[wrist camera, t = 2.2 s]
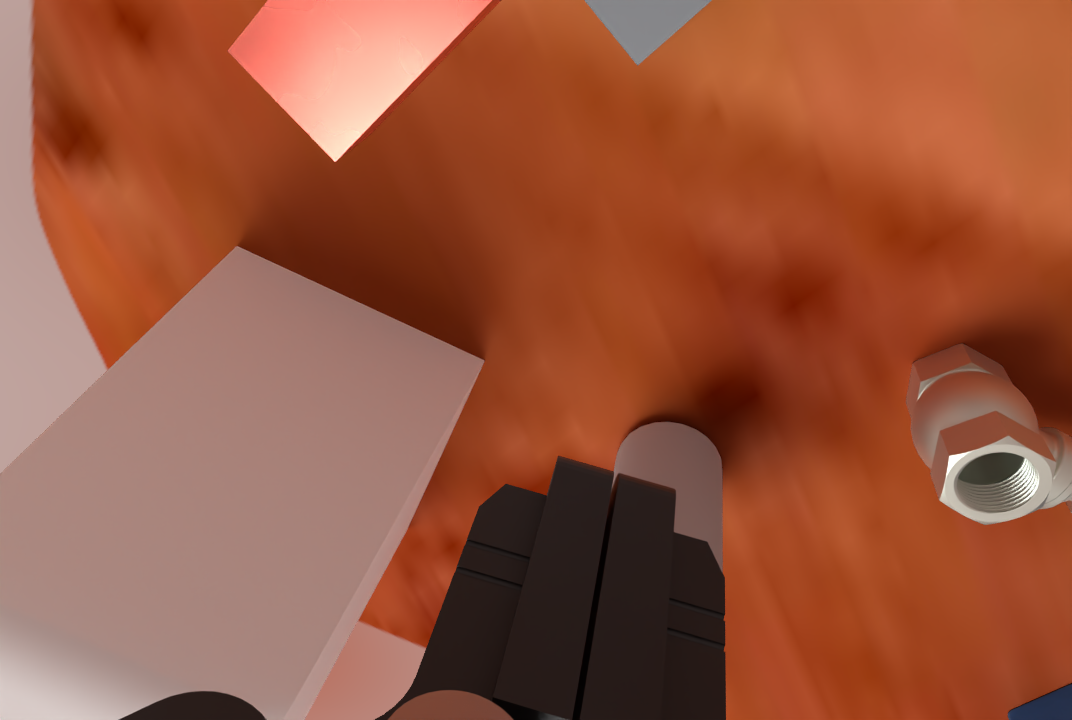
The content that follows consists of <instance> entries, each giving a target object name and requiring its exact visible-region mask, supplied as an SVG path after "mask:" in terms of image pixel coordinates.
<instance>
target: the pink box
mask: <svg viewBox="0 0 1072 720" xmlns="http://www.w3.org/2000/svg"><path fill="white" fill-rule="evenodd" d="M500 1H501V0H268V1H267V2H266V3H265V5H264V6H263V7H262V8H261V10H260V11H259V12H258V13H257V15H256V16H255V17H254V18H253V20H252V21H251V22H250V23H249V25H248V26H247V27H246V28H245V30H244V31H243V32H242V33H241V35H240V36H239V37H238V39H237V40H236V41H235V42H234V44H233V45H232V46H231V47H230V49H229V50H228V52H229V53H230V54H231V55H232V56H233V57H234V58H235V59H236V60H237V61H238V62H239V63H240V64H241V65H242V66H243V67H244V68H245V70H246V71H247V72H248V73H249V74H250V75H251V76H252V77H253V78H254V79H255V80H256V81H257V82H258V83H259V84H260V85H261V86H262V87H263V88H264V89H265V90H266V91H267V92H268V93H269V94H270V95H271V96H272V97H273V98H274V99H275V100H276V101H277V102H278V104H279V105H280V106H281V107H282V108H283V109H284V110H285V111H286V112H287V113H288V114H289V115H290V116H291V117H292V118H293V119H294V120H295V121H296V122H297V123H298V124H299V125H300V126H301V127H302V128H303V129H304V130H305V131H306V132H307V133H308V134H309V135H310V137H311V138H312V139H313V140H314V141H315V142H316V143H317V144H318V145H319V146H320V147H321V148H322V149H323V150H324V151H325V152H326V153H327V154H328V155H329V156H330V157H331V158H332V159H333V160H334V161H335V162H336V161H337V160H338V159H340V158H341V157H342V156H344V155H345V154H346V153H348V152H349V151H350V150H351V149H353V148H354V147H355V146H357V145H358V144H359V143H360V142H362V141H363V140H364V139H366V138H367V137H368V136H369V135H370V134H371V133H372V132H373V131H374V130H375V129H376V128H377V127H378V126H379V125H380V124H381V123H382V122H383V121H384V120H385V119H386V118H387V117H388V116H389V115H390V114H391V113H392V112H393V111H394V110H395V109H396V108H397V107H398V106H399V105H400V104H401V103H402V102H403V101H404V100H405V99H406V97H407V96H408V95H409V94H410V93H411V92H412V91H413V90H414V89H415V88H416V87H417V86H418V85H419V84H420V83H421V82H422V81H423V80H424V79H425V78H426V77H427V76H428V75H429V74H430V73H431V72H432V71H433V70H434V69H435V68H436V67H437V66H438V65H439V64H440V63H441V62H442V61H443V60H444V59H445V58H446V56H447V55H448V54H449V53H450V52H451V51H452V50H453V49H454V48H455V47H456V46H457V45H458V44H459V43H460V42H461V41H462V40H463V39H464V38H465V37H466V36H467V35H468V34H469V33H470V32H471V31H472V30H473V29H474V28H475V27H476V26H477V25H478V24H479V23H480V22H481V21H482V20H483V19H484V18H485V17H486V15H487V14H488V13H489V12H490V11H491V10H492V9H493V8H494V7H495V6H496V5H497V4H498V3H499V2H500Z"/></svg>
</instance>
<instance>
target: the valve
mask: <svg viewBox="0 0 1072 720" xmlns="http://www.w3.org/2000/svg"><path fill="white" fill-rule="evenodd" d="M906 405H907V408H908V410H909V413H910V416H911V433H912V438H913V443H914V445H915V448H916V450H917V452H918V454H919V456H920V457H921V459H922V460H923V461H924V463H925V464H926V465H927V466H928V467H929V468H930V469H931V473H930V474H931V477H932V480H933V483H934V486H935V489H936V492H937V495H938V498H939V500H940V501H941V502H943V503H944V504H946V505H947V506H949V507H950V508H952V509H953V510H955V511H957V512H959V513H960V514H962V515H964V516H966V517H968V518H970V519H972V520H974V521H976V522H979V523H981V524H984V525H987V524H994V523H1000V522H1004V521H1008V520H1012V519H1016V518H1019V517H1021V516H1024V515H1027V514H1029V513H1032V512H1034V511H1036V510H1038V509H1046V508H1050V507H1054V506H1056V505H1058V504H1060V503H1061V502H1066V504H1067V506H1068V508H1069V510H1070V511H1071V512H1072V437H1070V436H1069V435H1067V434H1065V433H1063V432H1062V431H1060V430H1058V429H1056V428H1052V427H1043V428H1038V421H1037V417H1036V415H1035V412H1034V409H1033V407H1032V406H1031V404H1030V403H1029V401H1028V400H1027V398H1026V397H1025V396H1024V394H1023V393H1022V392H1021V391H1020V390H1019V389H1017V388H1016V387H1015V386H1014V385H1013V384H1012V382H1011V380H1010V378H1009V377H1008V375H1007V373H1006V371H1005V369H1004V368H1003V366H1002V365H1000V364H999V363H997V362H995V361H994V360H992V359H990V358H988V357H986V356H985V355H983V354H981V353H979V352H978V351H976V350H974V349H972V348H970V347H969V346H967V345H965V344H963V343H961V344H957V345H954V346H952V347H949V348H947V349H944V350H942V351H939V352H937V353H934V354H932V355H929V356H926V357H924V358H921V359H919V360H917V361H915V362H913V365H912V370H911V375H910V380H909V386H908V391H907V396H906Z"/></svg>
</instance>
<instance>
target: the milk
mask: <svg viewBox="0 0 1072 720" xmlns="http://www.w3.org/2000/svg"><path fill="white" fill-rule="evenodd" d="M484 362H485V360H482V359H480V358H478V357H476V356H474V355H472V354H469V353H467V352H465V351H463V350H461V349H459V348H456V347H454V346H452V345H450V344H448V343H446V342H443V341H441V340H439V339H437V338H435V337H433V336H431V335H428V334H426V333H424V332H422V331H420V330H418V329H415V328H413V327H411V326H409V325H407V324H405V323H402V322H400V321H398V320H396V319H394V318H392V317H389V316H387V315H385V314H383V313H381V312H379V311H376V310H374V309H372V308H370V307H368V306H366V305H364V304H361V303H359V302H357V301H355V300H353V299H351V298H348V297H346V296H344V295H342V294H340V293H338V292H335V291H333V290H331V289H329V288H327V287H325V286H322V285H320V284H318V283H316V282H314V281H312V280H309V279H307V278H305V277H303V276H301V275H299V274H297V273H294V272H292V271H290V270H288V269H286V268H284V267H281V266H279V265H277V264H275V263H273V262H271V261H268V260H266V259H264V258H262V257H260V256H258V255H255V254H253V253H251V252H249V251H247V250H245V249H242V248H240V247H238V246H236V247H235V248H234V249H233V250H232V251H231V252H230V253H229V254H228V255H227V256H226V257H225V258H224V259H223V260H222V261H221V262H219V263H218V264H217V265H216V266H215V267H214V268H213V269H212V270H211V271H210V272H209V273H208V274H207V275H206V276H205V277H204V278H203V279H202V280H201V281H200V282H199V283H198V284H197V285H196V286H195V287H194V288H193V289H191V290H190V291H189V292H188V293H187V294H186V295H185V296H184V297H183V298H182V299H181V300H180V301H179V302H178V303H177V304H176V305H175V306H174V307H173V308H172V309H171V310H170V311H169V312H168V313H167V314H166V315H164V316H163V317H162V318H161V319H160V320H159V321H158V322H157V323H156V324H155V325H154V326H153V327H152V328H151V329H150V330H149V331H148V332H147V333H146V334H145V335H144V336H143V337H142V338H141V339H140V340H139V341H138V342H136V343H135V344H134V345H133V346H132V347H131V348H130V349H129V350H128V351H127V352H126V353H125V354H124V355H123V356H122V357H121V358H120V359H119V360H118V361H117V362H116V363H115V364H114V365H113V366H112V367H111V368H110V369H108V370H107V371H106V372H105V373H104V374H103V376H101V377H100V378H99V379H98V380H97V381H96V382H95V383H94V384H93V385H92V386H91V387H90V388H89V389H88V390H87V391H86V392H85V393H84V394H83V395H82V396H81V397H79V398H78V399H77V401H75V402H74V403H73V404H72V405H71V406H70V407H69V408H68V409H67V410H66V411H65V412H64V413H63V414H62V415H61V416H60V417H59V418H58V419H57V420H56V421H55V422H53V424H51V426H49V427H48V428H47V429H46V430H45V431H44V432H43V433H42V434H41V435H40V436H39V437H38V438H37V439H36V440H35V441H34V442H33V443H32V444H31V445H30V446H29V447H28V448H26V449H25V450H24V451H23V452H22V453H21V454H20V455H19V456H18V457H17V458H16V459H15V460H14V461H13V462H12V463H11V464H10V465H9V466H8V467H7V468H6V469H5V470H4V471H3V472H2V473H1V474H0V720H119V719H121V718H123V717H125V716H127V715H129V714H132V713H134V712H136V711H138V710H140V709H142V708H144V707H146V706H148V705H151V704H153V703H155V702H157V701H160V700H162V699H165V698H167V697H170V696H174V695H178V694H182V693H186V692H195V691H215V692H220V693H226V694H230V695H233V696H235V697H238V698H241V699H243V700H244V701H246V702H248V703H249V704H251V705H253V706H254V707H255V708H256V709H257V710H258V711H260V712H261V713H262V714H263V716H264V717H265V718H266V720H305V718H306V716H307V714H308V712H309V710H310V708H311V707H312V705H313V703H314V701H315V699H316V697H317V696H318V694H319V692H320V690H321V688H322V686H323V684H324V683H325V681H326V679H327V677H328V675H329V673H330V672H331V670H332V668H333V666H334V664H335V662H336V660H337V658H338V657H339V655H340V653H341V651H342V649H343V647H344V646H345V644H346V642H347V640H348V638H349V636H350V634H351V632H352V631H353V629H354V627H355V625H356V623H357V622H358V620H359V618H360V616H361V614H362V612H363V610H364V609H365V607H366V605H367V603H368V601H369V599H370V597H371V596H372V594H373V592H374V590H375V588H376V586H377V584H378V583H379V581H380V579H381V577H382V575H383V573H384V572H385V570H386V568H387V566H388V564H389V562H390V560H391V559H392V557H393V555H394V553H395V551H396V549H397V547H398V546H399V544H400V542H401V540H402V538H403V536H404V534H405V533H406V531H407V529H408V527H409V525H410V522H411V520H412V518H413V516H414V514H415V512H416V509H417V507H418V505H419V503H420V501H421V499H422V496H423V494H424V492H425V490H426V488H427V485H428V483H429V481H430V479H431V477H432V475H433V472H434V470H435V468H436V466H437V464H438V462H439V459H440V457H441V455H442V453H443V451H444V448H445V446H446V444H447V442H448V440H449V438H450V435H451V433H452V431H453V429H454V427H455V425H456V422H457V420H458V418H459V416H460V414H461V412H462V409H463V407H464V405H465V403H466V401H467V398H468V396H469V394H470V392H471V390H472V388H473V385H474V383H475V381H476V379H477V377H478V375H479V372H480V370H481V368H482V366H483V364H484Z"/></svg>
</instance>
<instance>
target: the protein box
mask: <svg viewBox="0 0 1072 720" xmlns="http://www.w3.org/2000/svg"><path fill="white" fill-rule="evenodd" d="M1008 718H1009V720H1072V684H1070V685H1067V686H1065V687H1063V688H1060V689H1058V690H1056V691H1054V692H1051V693H1049V694H1047V695H1044V696H1042V697H1040V698H1038V699H1035V700H1033V701H1031V702H1028V703H1026V704H1024V705H1021V706H1019V707H1017V708H1015V709H1012V710H1011V711H1009V713H1008Z"/></svg>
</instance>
